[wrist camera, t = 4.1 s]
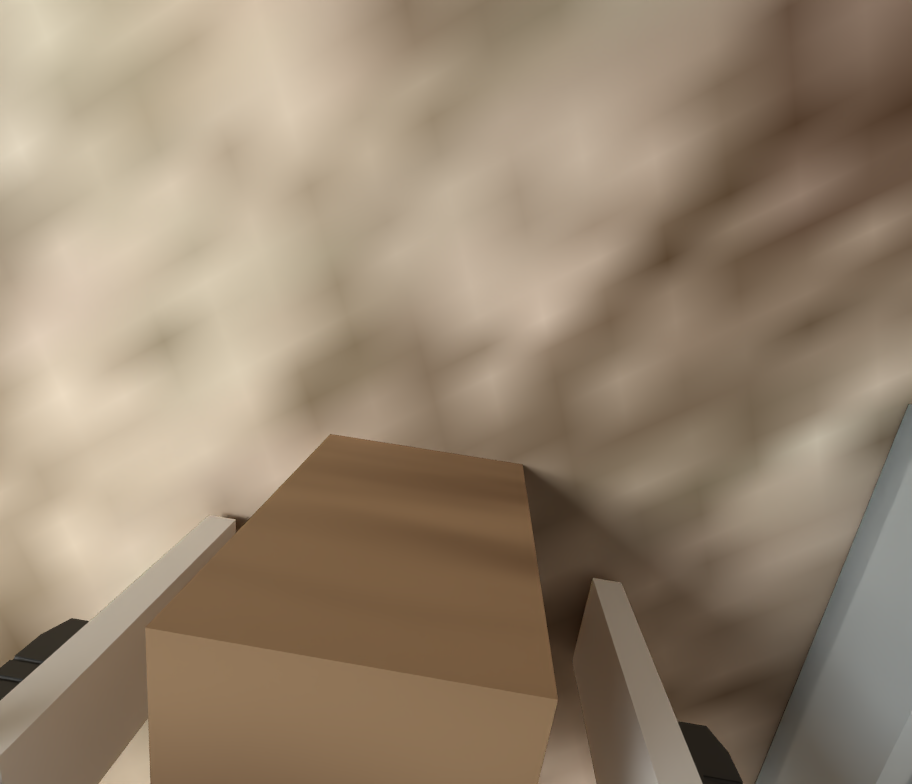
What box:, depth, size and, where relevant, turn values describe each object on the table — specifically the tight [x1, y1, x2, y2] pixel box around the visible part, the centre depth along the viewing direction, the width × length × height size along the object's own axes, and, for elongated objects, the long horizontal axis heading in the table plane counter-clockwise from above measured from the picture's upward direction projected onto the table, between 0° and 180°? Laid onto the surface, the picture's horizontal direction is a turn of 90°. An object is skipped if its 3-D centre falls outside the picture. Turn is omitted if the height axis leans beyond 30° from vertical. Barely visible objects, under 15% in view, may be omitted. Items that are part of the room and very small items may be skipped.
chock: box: [145, 434, 558, 784], centre depth 10 cm, size 8×5×7 cm, turn 172°
